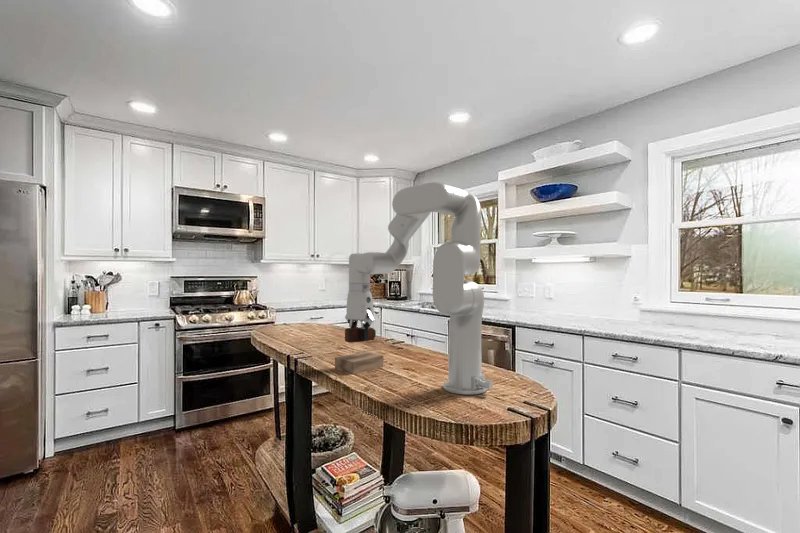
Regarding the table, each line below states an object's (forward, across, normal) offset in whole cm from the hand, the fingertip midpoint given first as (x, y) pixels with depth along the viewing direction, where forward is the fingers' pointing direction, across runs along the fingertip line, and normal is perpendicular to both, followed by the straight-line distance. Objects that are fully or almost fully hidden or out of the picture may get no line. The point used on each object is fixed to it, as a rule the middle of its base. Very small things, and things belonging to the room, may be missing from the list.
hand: (359, 338), depth 144 cm
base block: (+10, 0, 0) cm, 10 cm away
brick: (+1, 0, 0) cm, 1 cm away
